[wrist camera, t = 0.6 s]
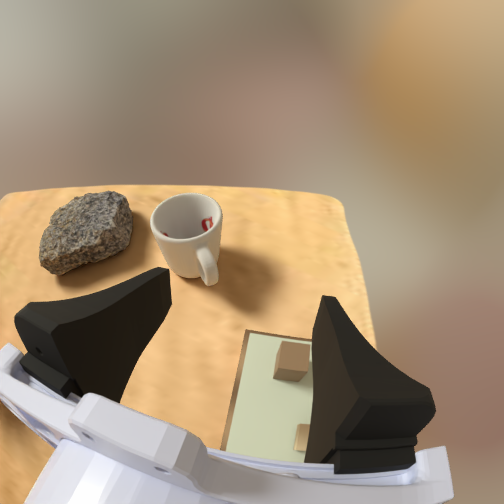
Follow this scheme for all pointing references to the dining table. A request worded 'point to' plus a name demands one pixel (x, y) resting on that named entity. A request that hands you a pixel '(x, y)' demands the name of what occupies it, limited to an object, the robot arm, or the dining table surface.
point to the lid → (272, 398)
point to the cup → (189, 235)
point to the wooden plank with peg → (301, 437)
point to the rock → (86, 231)
